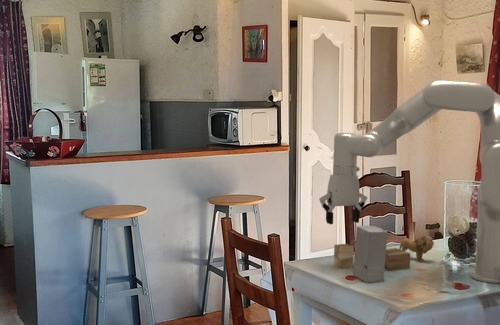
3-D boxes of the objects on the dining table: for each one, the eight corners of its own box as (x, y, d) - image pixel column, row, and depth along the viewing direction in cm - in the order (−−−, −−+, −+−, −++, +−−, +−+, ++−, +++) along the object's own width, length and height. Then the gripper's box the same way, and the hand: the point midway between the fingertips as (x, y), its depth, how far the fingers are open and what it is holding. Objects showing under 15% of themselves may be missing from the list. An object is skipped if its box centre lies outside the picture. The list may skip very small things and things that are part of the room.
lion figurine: (436, 261, 205) (436, 235, 204) (428, 264, 201) (429, 238, 200) (398, 254, 215) (398, 229, 214) (390, 256, 211) (390, 231, 211)
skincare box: (352, 275, 187) (353, 225, 186) (372, 273, 190) (373, 224, 188) (366, 283, 179) (367, 231, 178) (387, 281, 182) (388, 229, 180)
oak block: (352, 267, 197) (353, 246, 196) (340, 268, 195) (341, 247, 195) (345, 264, 201) (346, 243, 201) (333, 265, 200) (334, 244, 199)
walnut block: (409, 268, 196) (410, 253, 195) (389, 270, 193) (389, 255, 193) (395, 262, 203) (395, 247, 203) (375, 264, 200) (375, 249, 200)
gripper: (361, 169, 202) (359, 219, 204) (315, 170, 196) (313, 222, 197) (373, 171, 195) (371, 223, 197) (326, 172, 189) (324, 226, 190)
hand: (342, 222), depth 197 cm, fingers open, 9 cm apart
